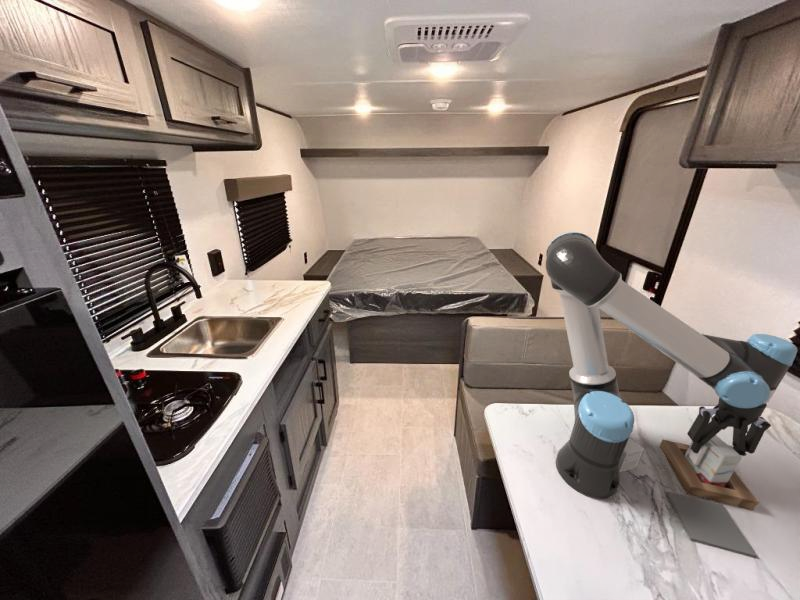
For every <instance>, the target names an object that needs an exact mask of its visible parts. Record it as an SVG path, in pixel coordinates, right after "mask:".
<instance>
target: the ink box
mask: <svg viewBox="0 0 800 600" xmlns="http://www.w3.org/2000/svg"><path fill="white" fill-rule="evenodd" d="M692 444H693V441H692V440H691V442H690V444H689V445H690V446H689V448H688V450H687V452H686V454H685V458H686V459H687V461H688V463H689V464H690V466H691V467H692V469H693V470H694V472H695V473H696V475H697V476H698V478H699V480H700V481H701V482H702V483H707V484H711V485H715V486H720V487H724V488H725V486H726V484H727V483H728V481H729V479H730V477H731V476H732V474H733V472H734V471H735V470H736V469H737V467H738V465H739V464H740V462H741V460H742V457H743V456H741V455H739V454H738V453H737V452H735V451H734V450H733V449H732V448H731V447H730V446H731V445H730V446H728V445H729V444H727V443H726V442H725V441H724V440H722V439H721V438H720V437H719V436H718V434H716V435H715V436H714V437H713V438H712V439H710V440H709V441H708V442H707V443H706V444H705V445H706V446H707V449H706V451H705V453H704V454H703V456H702V458H701V460H700V462H699V464H698V465H694V463H693V462H692V460H691V459H690V457H689V456H690V454H691V452H692V449H691V446H692Z"/></svg>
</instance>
